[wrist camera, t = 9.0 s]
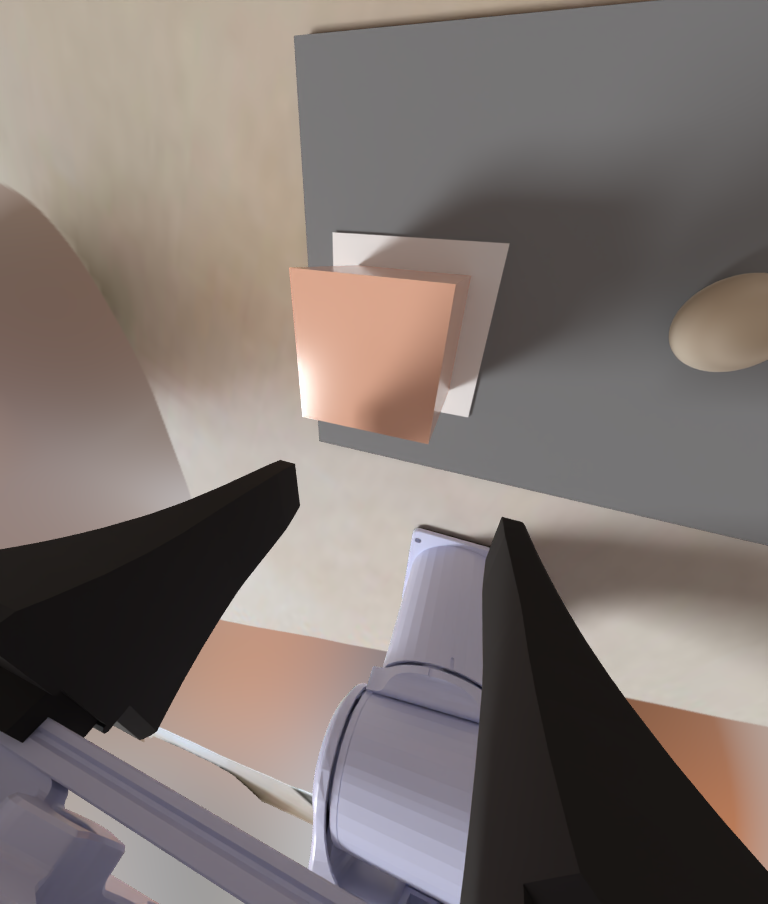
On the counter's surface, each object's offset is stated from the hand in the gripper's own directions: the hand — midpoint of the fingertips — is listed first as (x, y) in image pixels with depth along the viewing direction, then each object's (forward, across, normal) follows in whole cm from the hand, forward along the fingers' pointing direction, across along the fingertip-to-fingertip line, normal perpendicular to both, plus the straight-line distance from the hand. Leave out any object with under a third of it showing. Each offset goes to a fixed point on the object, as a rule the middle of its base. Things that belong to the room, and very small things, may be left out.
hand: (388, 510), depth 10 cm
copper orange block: (+9, +2, -4) cm, 10 cm away
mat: (+9, -6, -5) cm, 12 cm away
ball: (+9, -10, -6) cm, 15 cm away
